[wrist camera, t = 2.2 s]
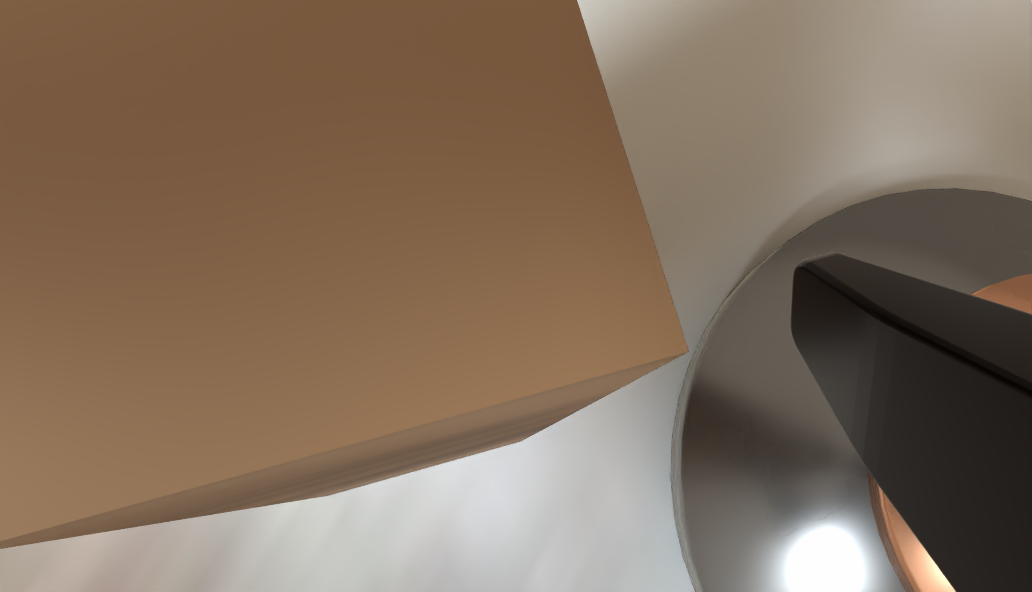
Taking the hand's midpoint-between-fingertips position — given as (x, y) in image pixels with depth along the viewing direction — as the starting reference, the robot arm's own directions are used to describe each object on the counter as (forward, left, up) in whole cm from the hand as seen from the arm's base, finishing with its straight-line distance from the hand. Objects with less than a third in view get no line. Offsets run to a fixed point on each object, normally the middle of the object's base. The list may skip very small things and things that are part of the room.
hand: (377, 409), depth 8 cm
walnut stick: (+1, -1, -9) cm, 9 cm away
